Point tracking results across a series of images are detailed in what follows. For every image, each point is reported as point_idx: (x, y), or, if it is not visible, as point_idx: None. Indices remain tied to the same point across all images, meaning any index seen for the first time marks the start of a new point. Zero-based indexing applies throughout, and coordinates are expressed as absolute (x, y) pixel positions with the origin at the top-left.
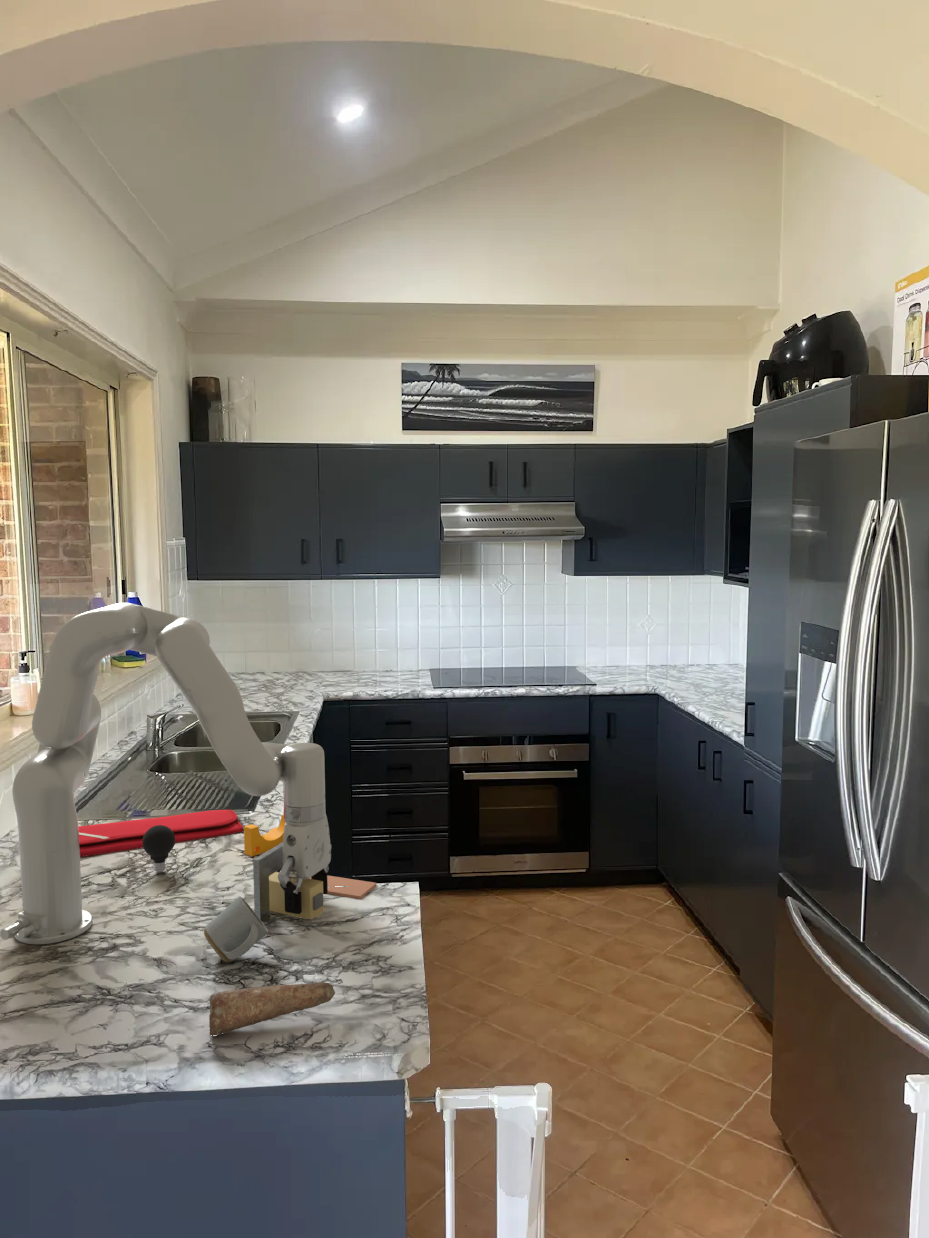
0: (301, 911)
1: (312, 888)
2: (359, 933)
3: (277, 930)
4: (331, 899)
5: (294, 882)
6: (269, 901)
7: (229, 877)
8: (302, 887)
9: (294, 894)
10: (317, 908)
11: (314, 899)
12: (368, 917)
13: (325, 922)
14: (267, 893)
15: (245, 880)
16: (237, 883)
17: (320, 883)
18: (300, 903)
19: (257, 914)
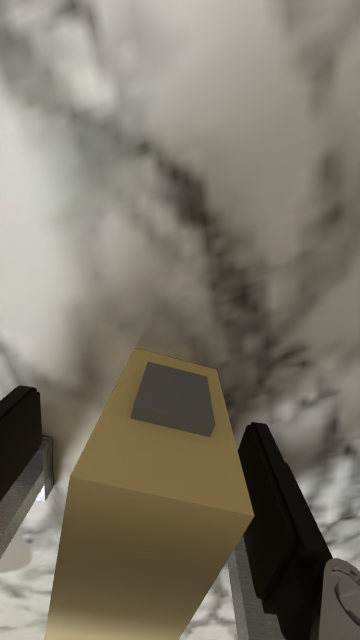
0: (257, 425)
1: (219, 500)
2: (345, 87)
3: (305, 440)
4: (17, 355)
5: (150, 604)
6: (234, 557)
7: (9, 608)
8: (225, 558)
9: (326, 558)
10: (190, 373)
11: (210, 418)
12: (140, 105)
13: (228, 310)
14: (260, 624)
15: (8, 583)
16: (32, 590)
17: (108, 478)
18: (281, 465)
19: None
